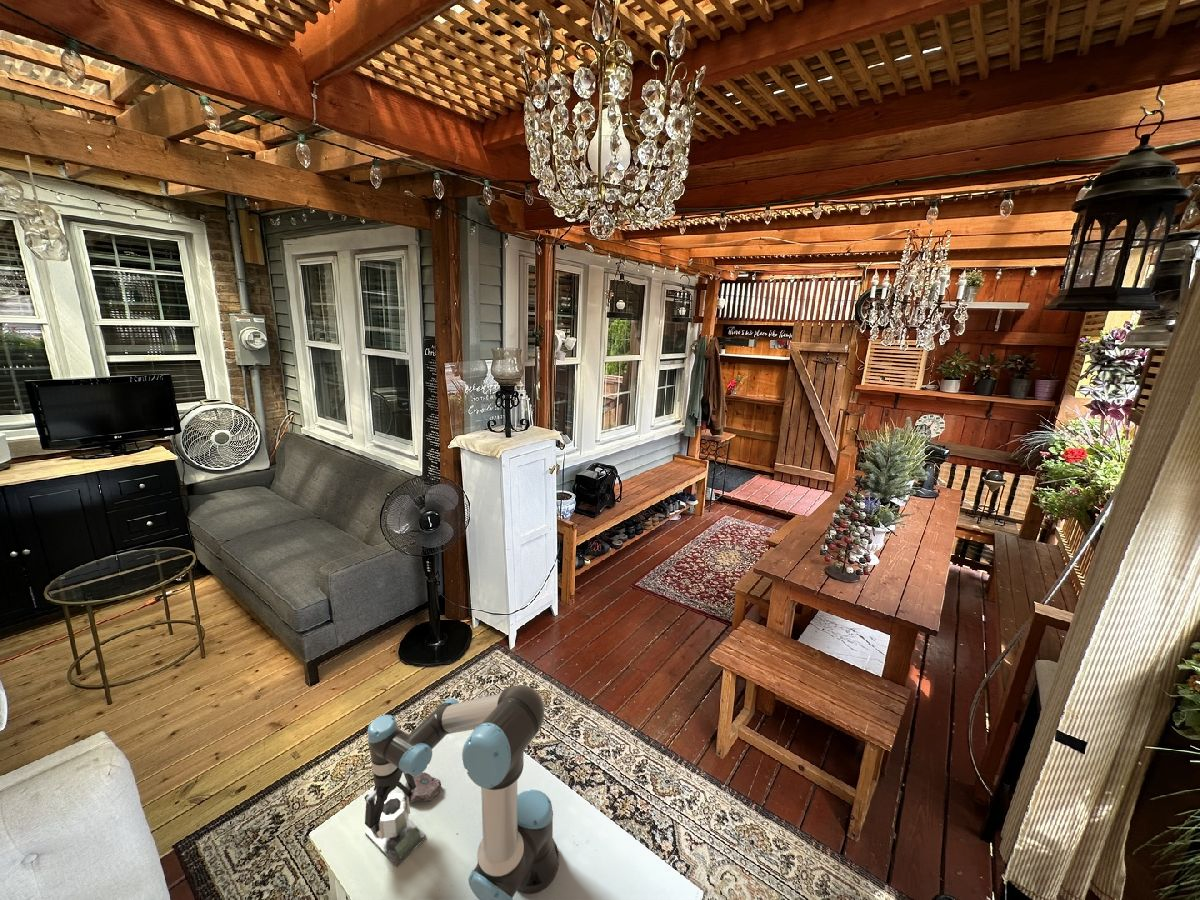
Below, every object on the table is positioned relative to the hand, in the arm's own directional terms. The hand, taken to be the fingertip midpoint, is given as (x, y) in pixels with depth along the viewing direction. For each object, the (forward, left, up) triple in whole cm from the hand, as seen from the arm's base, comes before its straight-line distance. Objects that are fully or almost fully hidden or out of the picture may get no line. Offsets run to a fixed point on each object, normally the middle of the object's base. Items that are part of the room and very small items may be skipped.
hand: (393, 823), depth 143 cm
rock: (+5, -13, -5) cm, 15 cm away
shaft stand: (0, 0, -5) cm, 5 cm away
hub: (0, 0, 0) cm, 0 cm away
